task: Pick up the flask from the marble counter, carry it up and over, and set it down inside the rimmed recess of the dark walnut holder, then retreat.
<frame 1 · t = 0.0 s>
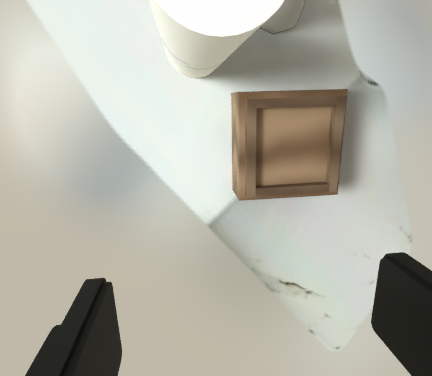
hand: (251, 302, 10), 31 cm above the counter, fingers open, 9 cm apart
flask: (274, 1, 36), on the counter
walnut holder: (278, 141, 41), on the counter
cylindrical container: (194, 47, 36), on the counter
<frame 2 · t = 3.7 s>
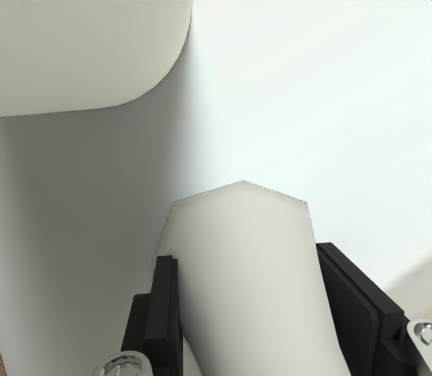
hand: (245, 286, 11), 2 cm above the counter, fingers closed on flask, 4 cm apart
flask: (235, 256, 13), on the counter, touching gripper
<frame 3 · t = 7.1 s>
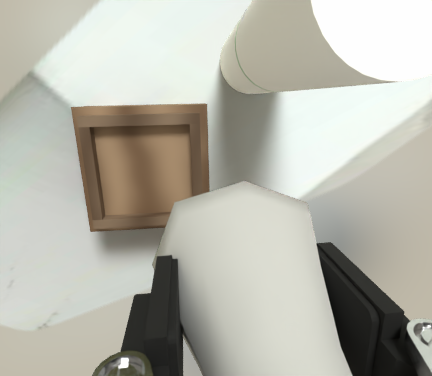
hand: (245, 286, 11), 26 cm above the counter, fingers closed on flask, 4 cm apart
flask: (236, 257, 13), point 24 cm above the counter, touching gripper
walnut holder: (151, 161, 35), on the counter
cylindrical container: (251, 61, 33), on the counter
when the fingers open (8 cm above the counter, at t = 10.6 s): flask drops 1 cm, resting on walnut holder.
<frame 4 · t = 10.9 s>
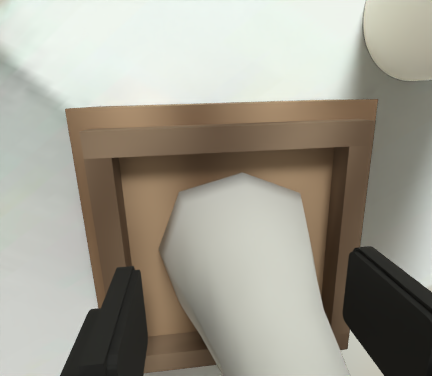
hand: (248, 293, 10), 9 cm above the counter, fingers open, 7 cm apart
flask: (235, 243, 14), point 5 cm above the counter, touching walnut holder
walnut holder: (219, 209, 19), on the counter
cylindrical container: (419, 15, 17), on the counter
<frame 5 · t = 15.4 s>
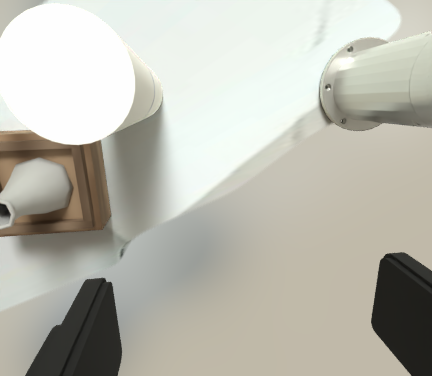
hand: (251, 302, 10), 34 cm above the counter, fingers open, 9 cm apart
flask: (44, 185, 37), point 5 cm above the counter, touching walnut holder
walnut holder: (57, 176, 42), on the counter
cylindrical container: (136, 92, 40), on the counter
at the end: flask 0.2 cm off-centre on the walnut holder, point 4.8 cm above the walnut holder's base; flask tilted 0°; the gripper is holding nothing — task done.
